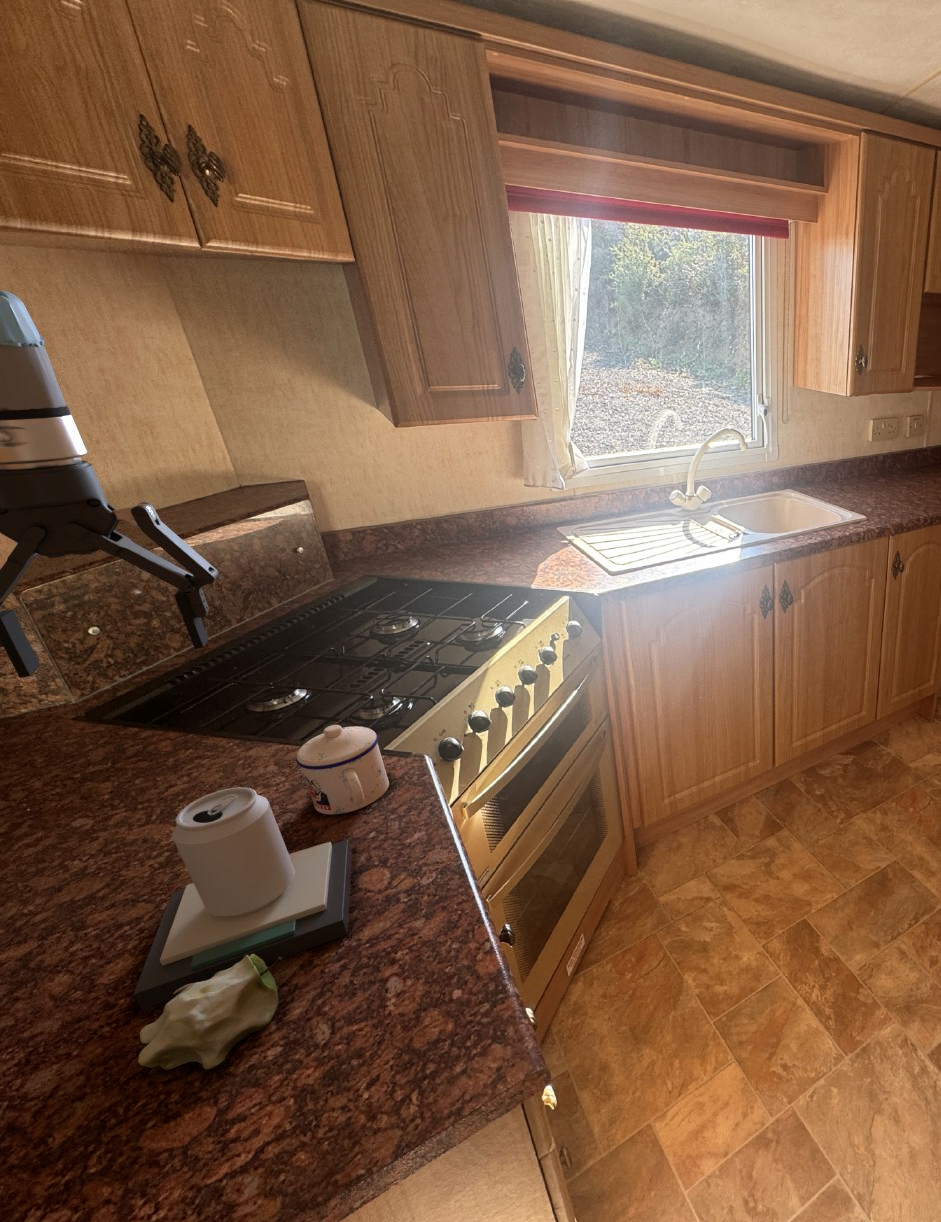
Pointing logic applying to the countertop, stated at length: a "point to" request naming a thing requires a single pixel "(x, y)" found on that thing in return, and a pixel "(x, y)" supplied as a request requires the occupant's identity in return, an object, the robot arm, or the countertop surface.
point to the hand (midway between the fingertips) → (120, 657)
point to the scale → (249, 926)
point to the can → (233, 851)
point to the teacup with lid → (343, 769)
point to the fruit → (211, 1016)
